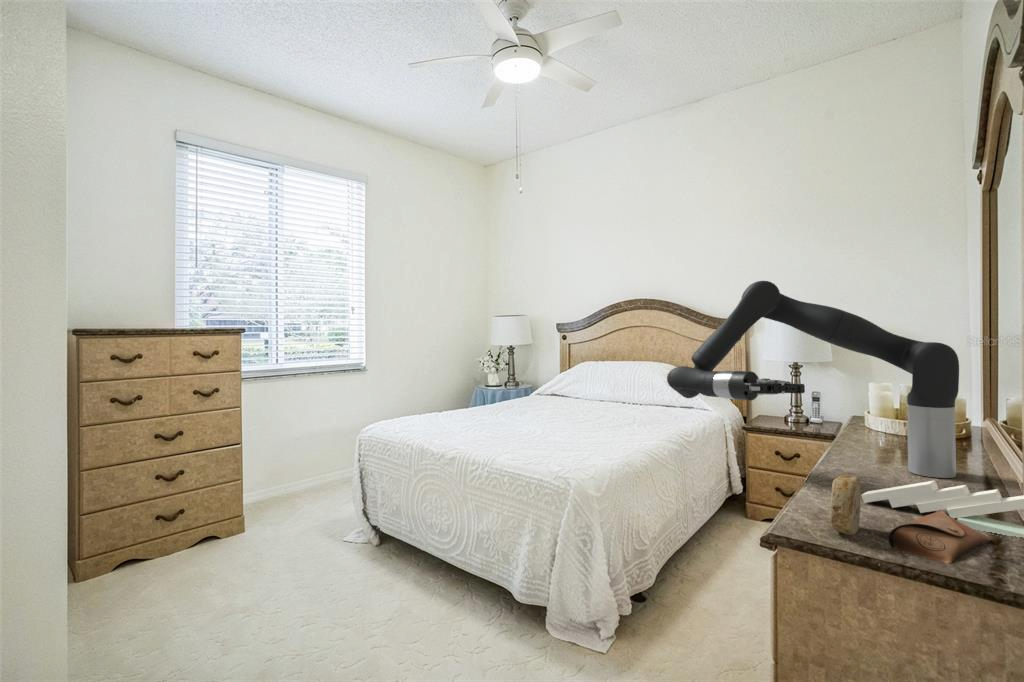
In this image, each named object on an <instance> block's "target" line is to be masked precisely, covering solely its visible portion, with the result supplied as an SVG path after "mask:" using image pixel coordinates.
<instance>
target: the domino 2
mask: <svg viewBox="0 0 1024 682" xmlns="http://www.w3.org/2000/svg"><path fill="white" fill-rule="evenodd" d="M970 493H971V491H970V490H969V488H968V486H967V485H966V484H963V485H956V486H950V487H945V488H939V489H938V490H936V491H935V492H933V493H927V494H920V495H913V496H907V497H900V498H893V499H888V502H889V504H890V506H891V508H892V509H893V508H900V507H907V506H912V505H916V504H921V503H928V502H935V501H941V500H948V499H955V498H962V497H967V496H968V495H969V494H970Z"/></svg>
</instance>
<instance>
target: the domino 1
mask: <svg viewBox="0 0 1024 682" xmlns="http://www.w3.org/2000/svg"><path fill="white" fill-rule="evenodd" d="M938 489H940V488H939V486H938V484H937V481H936V480H929V481H923V482H917V483H910V484H904V485H899V486H898V485H897V486H892V487H886V488H881V489H880V488H879V489H875V490H868V491H865V492H863V493H862V494H860V497H861V498H862V501H863V503H873V502H879V501H886V500H889V499H893V498H900V497H907V496H913V495H920V494H927V493H933V492H935V491H936V490H938Z"/></svg>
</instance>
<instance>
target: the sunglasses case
mask: <svg viewBox="0 0 1024 682" xmlns="http://www.w3.org/2000/svg"><path fill="white" fill-rule="evenodd" d="M887 537H888V543H889V545H890V547H891V548H893V549H897V550H900V551H903V552H906V553H910V554H914V555H917V556H920V557H923V558H928V559H931V560H934V561H938V562H942V563H944V564H949V565H951V564H953V563H954V562H955V560H956V559H957V558H959V557H960V556H962V555H964V554H966V553H967V552H970V551H971V550H974V549H975V548H977V547H979V546H981V545H984V544H983V543H985V542H988V541H990V540H992V541H993V539H992V538H990V537H988V536H987V535H985V534H983V532H982V533H981V531H978V530H974V529H972V528H970V527H968V526H966V525H964V524H963V523H961V522H959V521H957V519H956V518H951V517H950V515H949V514H946V513H945V512H944V511H943V510H938V511H934V512H933V513H930V514H927V515H924V516H921V517H919V518H916V519H913V520H911V521H908V522H906V523H903V524H901V525H898V526H896V527H895V528H893V529H892V530H891V531H890V532H889V533H888V536H887ZM985 544H986V543H985Z"/></svg>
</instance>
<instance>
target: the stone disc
mask: <svg viewBox="0 0 1024 682" xmlns="http://www.w3.org/2000/svg"><path fill="white" fill-rule="evenodd" d="M861 504H862V503H861V483H860V478H859V476H855V475H851V474H841V475H839V476H837V477H835V479H834V480H832V485H831V498H830V509H829V510H830V511H829V518H830V524H831V529H832V530H834V531H836V532H839V533H843V534H845V535H849V536H853V535H854V536H855V535H856V534H857V533H858V530H859V526H860V516H861V508H862V507H861V506H862V505H861Z"/></svg>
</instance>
